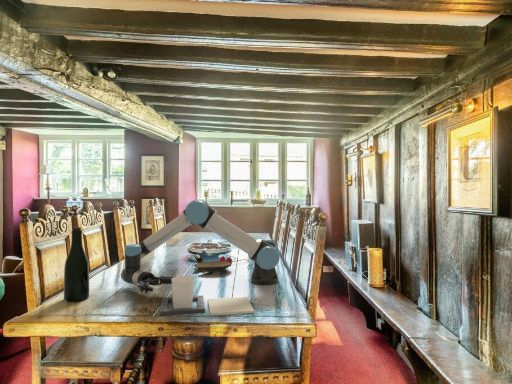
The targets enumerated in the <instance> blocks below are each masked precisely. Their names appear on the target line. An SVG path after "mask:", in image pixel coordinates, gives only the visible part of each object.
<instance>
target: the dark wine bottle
mask: <svg viewBox="0 0 512 384" xmlns="http://www.w3.org/2000/svg"><path fill="white" fill-rule="evenodd" d="M70 232H71V241H70V242H71V243H70V247H69V252H68V255H67V257H66V258H65V262H64V270H63V300H64V301H66V302H71V303H73V302H80V301H84V300H87V299H88V298H89V297H90V267H89V266H90V264H89V259H88V257H87V254H86V252H85V250H84V246H83V229H82V228H81V226H73V227H72V230H71V231H70Z"/></svg>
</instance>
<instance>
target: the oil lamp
mask: <svg viewBox="0 0 512 384" xmlns="http://www.w3.org/2000/svg"><path fill="white" fill-rule="evenodd" d="M194 258H195V260H196V263H195V264H194V265H193V266H194V267H195V268H196V269H198V270H200V271H202V272H206V273H216V272H220V271H223V270H225V269H227V268H229V267H231V266H232V264H231V263H230V262H227V260H226V261H225V260H224V261H220V260H219V261H218V260H217V261H216V260H213V261H204V260H203V257H201V256H200V257H199V256H198V255H196V254H195V255H194Z"/></svg>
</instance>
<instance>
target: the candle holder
mask: <svg viewBox="0 0 512 384" xmlns="http://www.w3.org/2000/svg"><path fill="white" fill-rule="evenodd" d="M173 277H174V278H172V279H171V281H172V284H171V293H172V296H171V297H172V299H173V302H172V309H176V308H193V305H194V304H193V302H194V301H193V296H194V291H195V277H193V276H188V275H181V276H173Z"/></svg>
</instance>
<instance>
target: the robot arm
mask: <svg viewBox="0 0 512 384" xmlns="http://www.w3.org/2000/svg"><path fill="white" fill-rule="evenodd" d="M194 225H196V226H198V227H199V228H201V229H202V230H210V231H211V232H213V233H214V234H215V235H217V236H219V237H221V238H222V239H223V240H225V241H227V242H229V244H231V245H233V246H235V247H236V248H238V249H240V250H241V251H243V253H246V254H247V256H248V259H249V260H250V261H253V265H254V266H253V270H252V272H251V276H250V282H252V283H253V284H256V285H273V284H276V283H278V282H279V276H278V272H277V270H276V267H277V266H278V264H279V262H280V252H279V251H278V249H277V248H276V241H275V240H274V239H262V238H259V239H257V238H255V237H253V236H252V235H251V234H249V233H247V232H245V231H244V230H242V229H241V228H240V227H238V226H236V225H235V224H233V223H231V222H230V221H228V220H227V219H225V218H223V217H222V216H221V215H219V214H218V210H217V209H215V208H213V206H211V205H209V204H208V202H207V201H205V200H203V199H195V200H192V201H190V202H188V204H187V205H186V207H185V209H184V210H183V211H182V212H181V214H179V216H177V217H176V218H174V219H172V220H171V221H170V222H168V223H167V224H166V225H164V226H163V227H161V228H159V229H158V230H157V231H155V232H154V233H152V234H151V235H149V236H148V237H146V238H145V239H144V240H141V241H140V242H139V243H130V244H126V245H125V247H124V268H123V269H122V270H121V273H120V278H121V280H122V281H123V282H125V283H127V284H131V285H134V286H137V288H138V289H139V291H140V292H141V293H143V292H144V293H145V294H147V293H153V294H156V295H159V294H160V287H159V286H162V285H172V281H171V279H172V278H174V277H175V276H166V275H160V276H155V275H154V274H153V273H152V272H151V271H150V272H149V271H146V270H142V267H141V266H142V265H141V264H142V262H141V261H142V259H143V258H145V257H147V256H148V255H149V254H151V253H152V252H153V251H154V250H156V249H158V248H159V247H160V246H162V245H163V244H165V243H167V241H169V240H171V239H172V238H174V237H175V236H177V235H178V234H180V233H181V232H182V231H184V230H185V229H186V228H188V227H190V226H194Z"/></svg>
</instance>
